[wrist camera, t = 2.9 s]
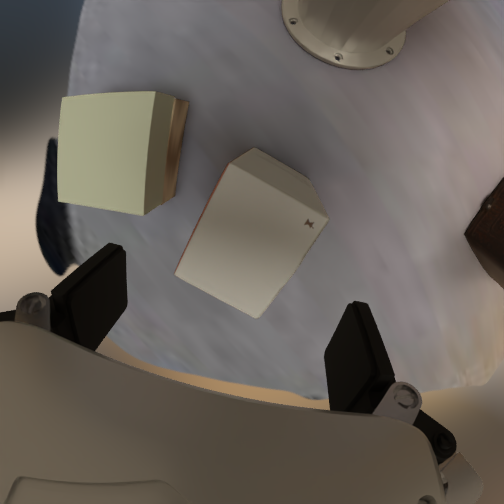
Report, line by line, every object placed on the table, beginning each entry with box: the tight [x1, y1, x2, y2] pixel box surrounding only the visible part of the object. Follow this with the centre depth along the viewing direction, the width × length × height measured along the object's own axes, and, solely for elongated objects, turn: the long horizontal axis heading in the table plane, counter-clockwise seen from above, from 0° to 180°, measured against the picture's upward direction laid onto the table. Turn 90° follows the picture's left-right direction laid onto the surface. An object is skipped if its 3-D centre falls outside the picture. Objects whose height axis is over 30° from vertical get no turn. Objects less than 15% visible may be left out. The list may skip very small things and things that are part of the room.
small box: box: [174, 147, 329, 319], centre depth 21 cm, size 8×6×13 cm
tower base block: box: [160, 99, 189, 205], centre depth 25 cm, size 10×10×4 cm
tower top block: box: [57, 91, 175, 216], centre depth 21 cm, size 10×10×4 cm
